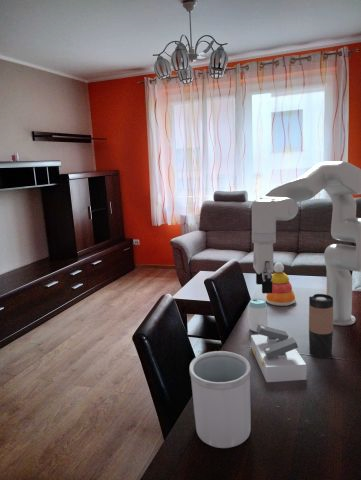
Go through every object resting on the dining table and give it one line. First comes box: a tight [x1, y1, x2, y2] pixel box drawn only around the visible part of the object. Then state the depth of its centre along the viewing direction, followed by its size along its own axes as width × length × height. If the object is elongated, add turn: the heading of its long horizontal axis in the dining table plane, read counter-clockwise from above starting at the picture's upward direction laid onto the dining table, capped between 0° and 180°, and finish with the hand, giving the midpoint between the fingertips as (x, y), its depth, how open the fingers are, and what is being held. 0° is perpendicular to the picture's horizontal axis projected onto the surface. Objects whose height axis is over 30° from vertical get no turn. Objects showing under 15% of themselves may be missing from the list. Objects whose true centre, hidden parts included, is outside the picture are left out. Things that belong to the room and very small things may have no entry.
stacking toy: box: [264, 261, 297, 307], centre depth 175 cm, size 14×14×20 cm
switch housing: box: [250, 334, 307, 383], centre depth 123 cm, size 22×12×6 cm, turn 1°
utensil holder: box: [189, 350, 252, 449], centre depth 93 cm, size 15×15×18 cm
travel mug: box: [308, 293, 334, 359], centre depth 127 cm, size 8×8×20 cm
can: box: [248, 298, 268, 333], centre depth 148 cm, size 7×7×12 cm
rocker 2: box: [263, 336, 299, 359], centre depth 117 cm, size 4×10×2 cm, turn 91°
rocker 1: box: [256, 325, 290, 340], centre depth 128 cm, size 4×10×2 cm, turn 91°
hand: (263, 288), depth 124 cm, fingers open, 9 cm apart
